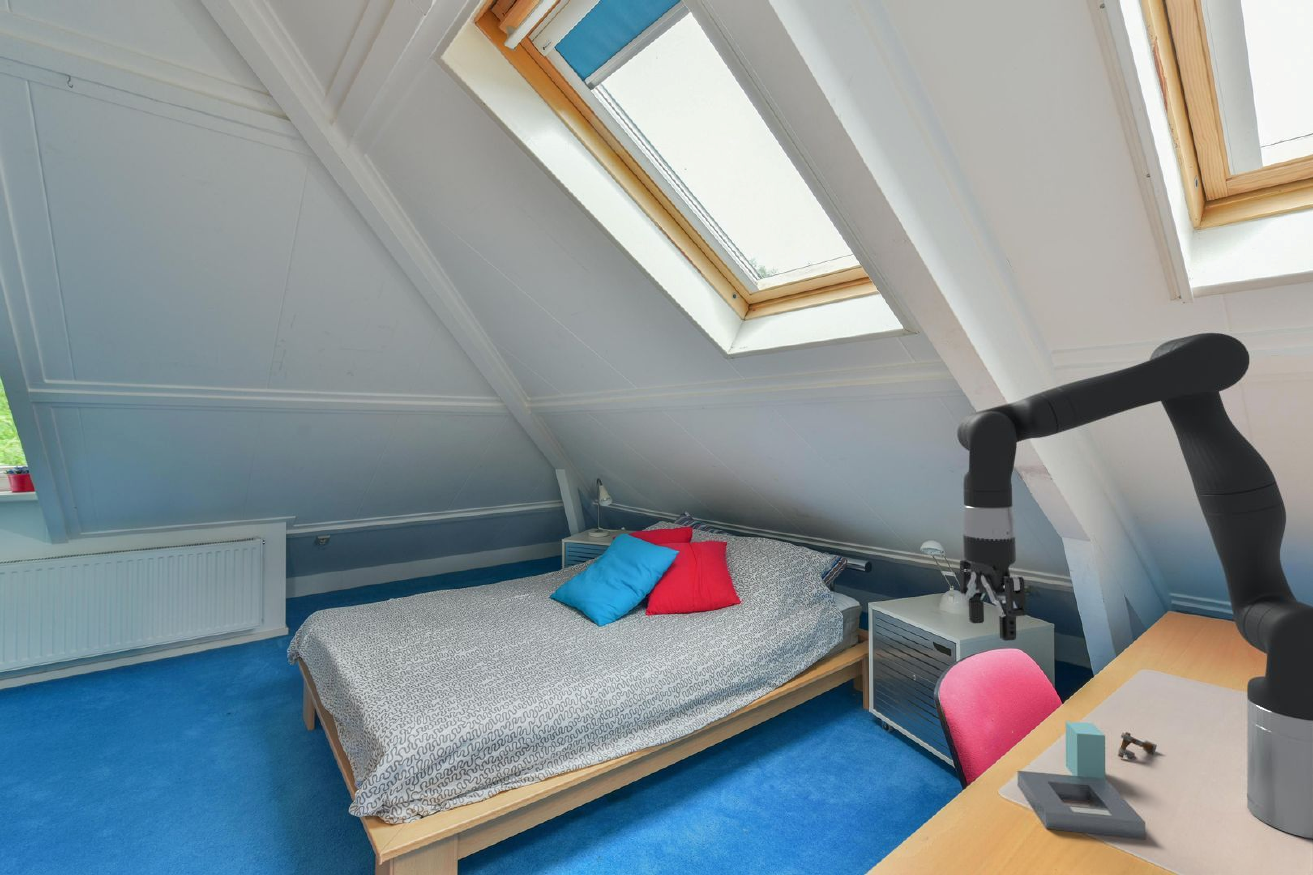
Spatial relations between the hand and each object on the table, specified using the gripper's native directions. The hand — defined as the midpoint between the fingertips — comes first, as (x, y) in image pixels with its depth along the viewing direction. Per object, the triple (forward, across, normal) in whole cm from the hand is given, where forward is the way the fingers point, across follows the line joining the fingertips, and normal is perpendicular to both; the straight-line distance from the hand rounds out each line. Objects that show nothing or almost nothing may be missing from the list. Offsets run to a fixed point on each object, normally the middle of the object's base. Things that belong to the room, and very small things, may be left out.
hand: (991, 630), depth 100 cm
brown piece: (+27, +8, -31) cm, 42 cm away
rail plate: (+27, -6, -9) cm, 29 cm away
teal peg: (+27, +3, -18) cm, 32 cm away
